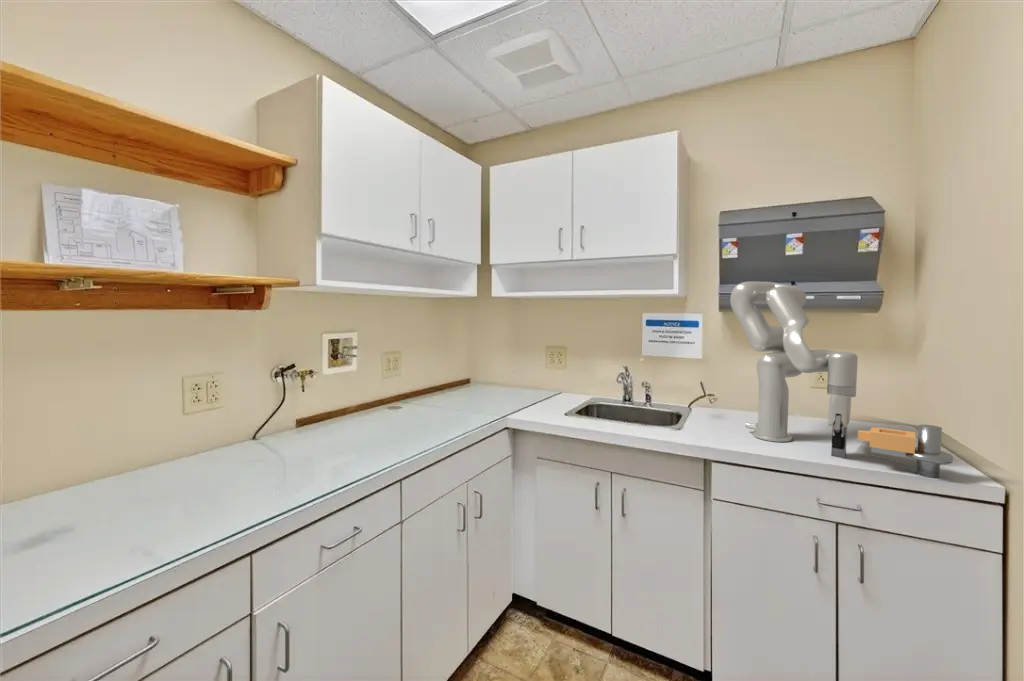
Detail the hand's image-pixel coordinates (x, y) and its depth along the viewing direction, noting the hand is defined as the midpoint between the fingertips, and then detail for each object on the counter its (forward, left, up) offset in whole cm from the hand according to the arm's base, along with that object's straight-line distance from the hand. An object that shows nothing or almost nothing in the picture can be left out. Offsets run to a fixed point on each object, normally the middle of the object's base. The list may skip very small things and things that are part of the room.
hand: (838, 445), depth 144 cm
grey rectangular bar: (0, 0, -3) cm, 3 cm away
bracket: (+11, -4, +3) cm, 12 cm away
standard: (+17, -4, -3) cm, 18 cm away
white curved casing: (+13, +10, -4) cm, 17 cm away
